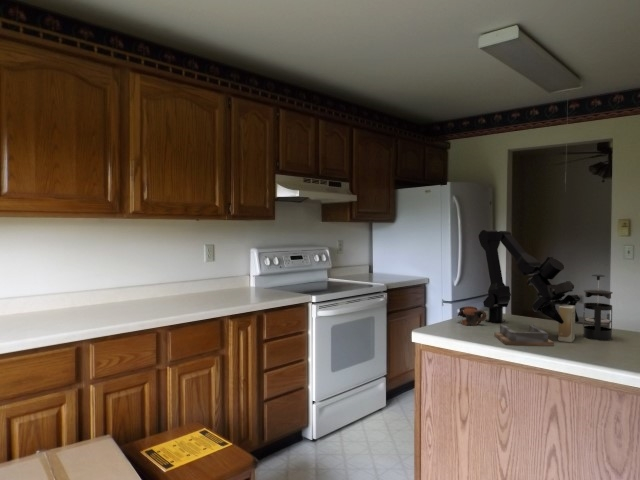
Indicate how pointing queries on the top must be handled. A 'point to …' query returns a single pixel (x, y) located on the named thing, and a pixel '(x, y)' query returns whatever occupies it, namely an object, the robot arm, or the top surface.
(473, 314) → the pottery mug
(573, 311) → the skincare box
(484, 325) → the top surface
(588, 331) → the french press
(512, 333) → the rail holder
